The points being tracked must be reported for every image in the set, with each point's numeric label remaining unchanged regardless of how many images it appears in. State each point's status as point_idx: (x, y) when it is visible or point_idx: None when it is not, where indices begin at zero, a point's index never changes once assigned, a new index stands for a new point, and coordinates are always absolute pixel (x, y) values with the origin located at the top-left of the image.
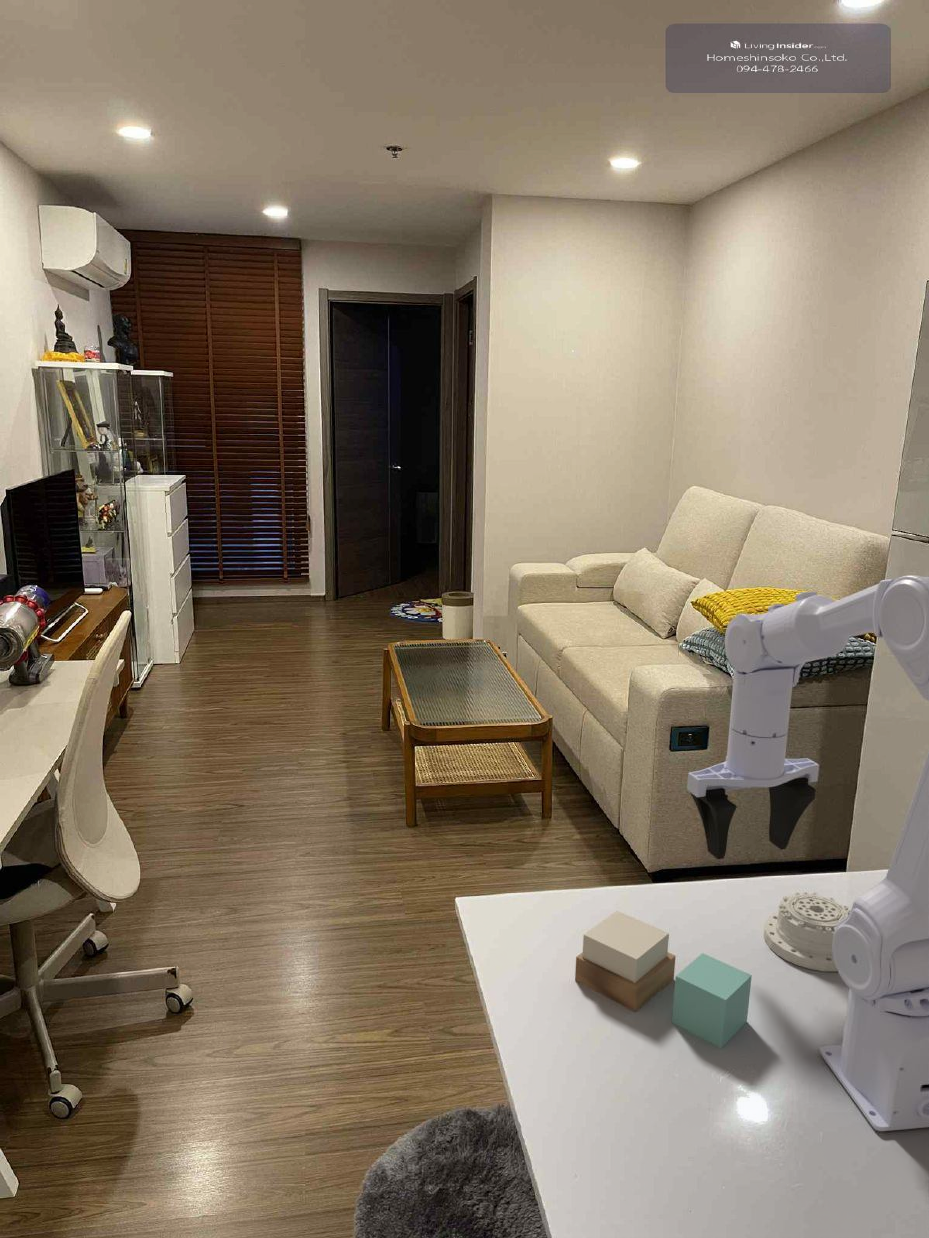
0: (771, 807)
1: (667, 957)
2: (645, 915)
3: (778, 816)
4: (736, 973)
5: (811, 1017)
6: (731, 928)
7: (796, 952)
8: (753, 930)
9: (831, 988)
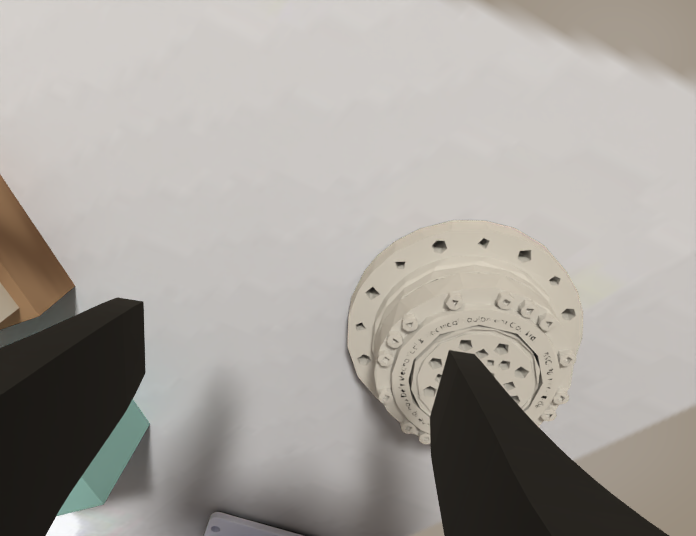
0: (500, 456)
1: (16, 313)
2: (130, 25)
3: (473, 491)
4: (75, 488)
5: (265, 459)
6: (326, 192)
7: (364, 366)
8: (373, 224)
9: (363, 429)
